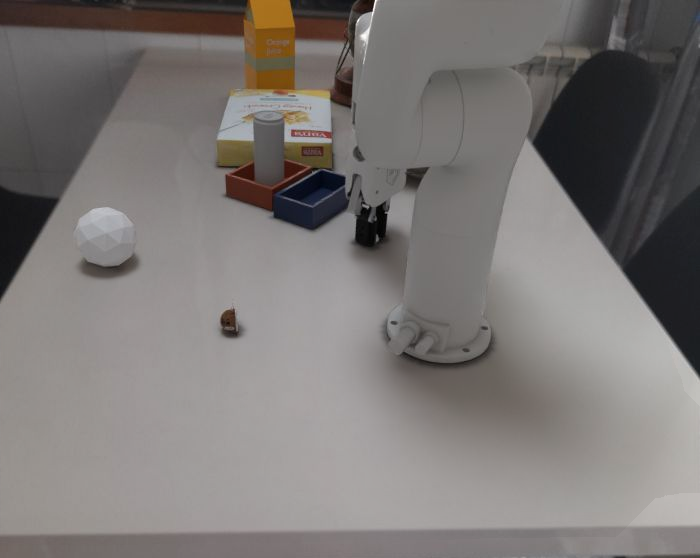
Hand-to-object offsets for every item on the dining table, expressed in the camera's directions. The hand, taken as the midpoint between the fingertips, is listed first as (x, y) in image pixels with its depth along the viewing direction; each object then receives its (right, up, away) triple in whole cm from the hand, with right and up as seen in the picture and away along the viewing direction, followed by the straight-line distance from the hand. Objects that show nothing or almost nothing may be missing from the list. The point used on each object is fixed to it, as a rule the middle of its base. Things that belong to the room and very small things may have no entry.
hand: (370, 239), depth 106 cm
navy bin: (-8, +6, +8) cm, 13 cm away
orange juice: (-21, +40, +53) cm, 70 cm away
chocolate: (-17, -14, -20) cm, 30 cm away
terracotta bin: (-16, +10, +12) cm, 22 cm away
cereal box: (-17, +23, +31) cm, 42 cm away
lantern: (+1, +41, +55) cm, 69 cm away
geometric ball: (-35, -5, -9) cm, 37 cm away
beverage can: (-16, +10, +12) cm, 22 cm away
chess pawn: (0, 0, 0) cm, 0 cm away
